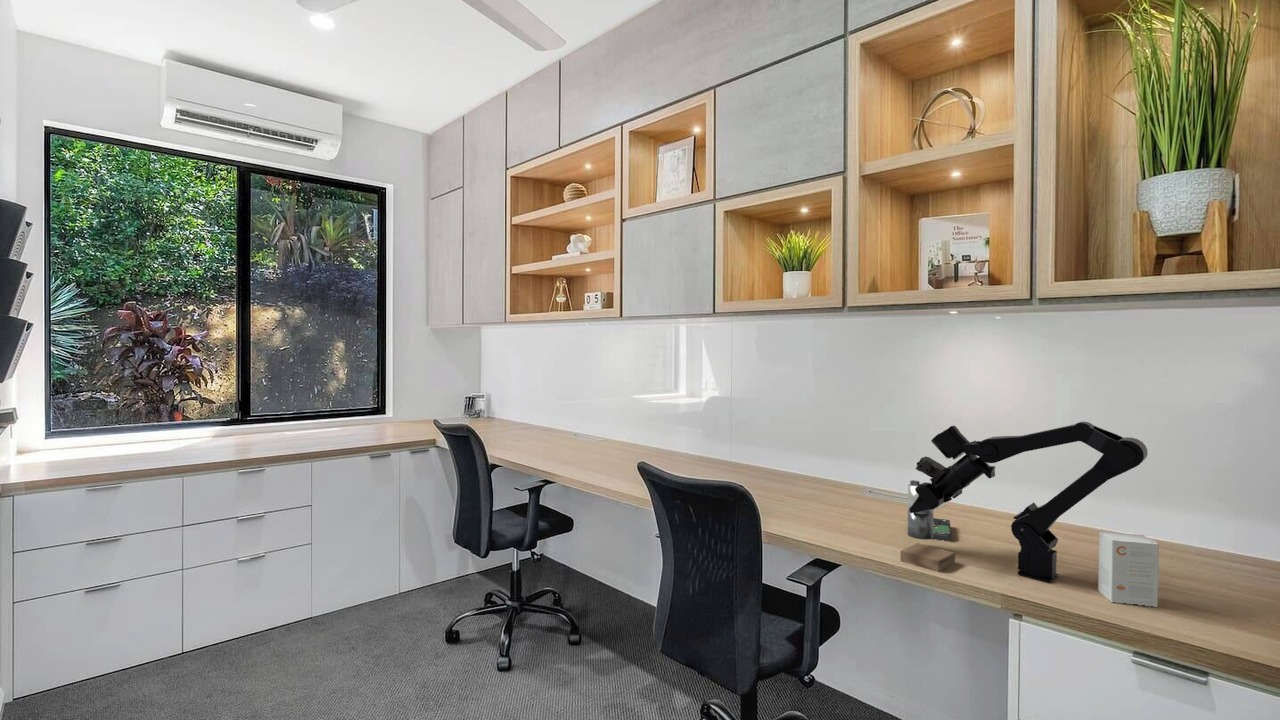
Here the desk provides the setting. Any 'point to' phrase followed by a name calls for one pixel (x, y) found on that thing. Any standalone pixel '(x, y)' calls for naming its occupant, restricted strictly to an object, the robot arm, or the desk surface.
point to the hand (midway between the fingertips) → (915, 509)
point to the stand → (927, 557)
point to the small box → (1128, 568)
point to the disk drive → (941, 529)
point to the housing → (918, 516)
